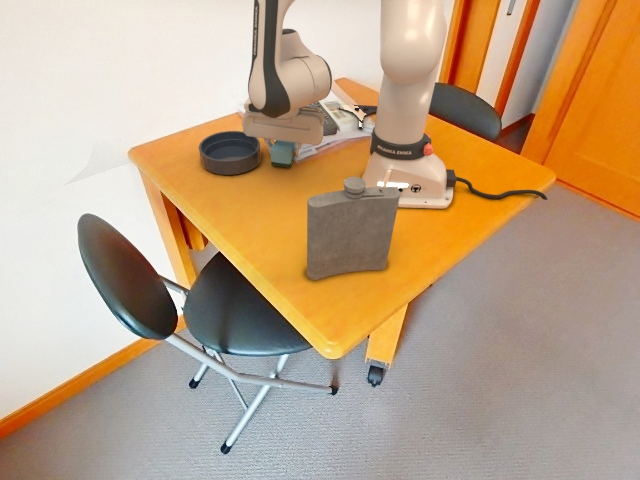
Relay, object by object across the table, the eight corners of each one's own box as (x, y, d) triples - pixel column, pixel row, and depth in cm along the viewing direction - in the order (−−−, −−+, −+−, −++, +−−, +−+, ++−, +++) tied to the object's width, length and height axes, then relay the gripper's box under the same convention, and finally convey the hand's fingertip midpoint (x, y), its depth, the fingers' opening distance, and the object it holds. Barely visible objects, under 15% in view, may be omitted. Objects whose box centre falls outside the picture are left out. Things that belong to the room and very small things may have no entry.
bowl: (268, 149, 110) (267, 134, 107) (249, 180, 99) (248, 164, 96) (215, 142, 112) (213, 127, 109) (191, 171, 101) (188, 156, 98)
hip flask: (308, 281, 75) (309, 195, 61) (304, 265, 78) (304, 180, 64) (388, 269, 78) (405, 184, 64) (381, 254, 81) (396, 171, 67)
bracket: (336, 129, 120) (337, 120, 118) (339, 107, 131) (339, 99, 129) (384, 132, 120) (385, 123, 118) (382, 110, 131) (383, 102, 129)
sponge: (278, 150, 108) (278, 135, 105) (296, 153, 107) (296, 138, 104) (271, 165, 103) (270, 149, 100) (290, 167, 102) (289, 152, 99)
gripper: (327, 102, 96) (325, 153, 105) (246, 93, 98) (251, 143, 108) (322, 113, 91) (320, 165, 100) (237, 103, 94) (243, 155, 103)
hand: (284, 154), depth 104 cm, fingers closed on sponge, 5 cm apart
